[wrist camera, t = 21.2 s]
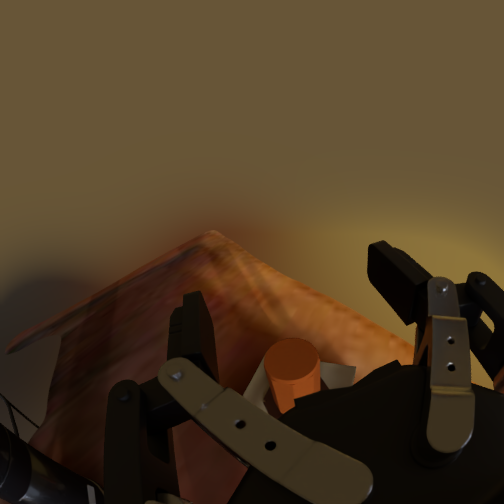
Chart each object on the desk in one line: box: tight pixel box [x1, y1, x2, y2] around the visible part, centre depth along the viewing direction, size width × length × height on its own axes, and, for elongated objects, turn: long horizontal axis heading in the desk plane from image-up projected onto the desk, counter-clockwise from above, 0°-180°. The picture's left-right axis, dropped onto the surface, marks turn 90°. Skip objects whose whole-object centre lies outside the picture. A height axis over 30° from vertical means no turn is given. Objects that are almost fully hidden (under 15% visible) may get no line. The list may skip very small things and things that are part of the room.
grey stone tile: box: [243, 356, 356, 413], centre depth 30 cm, size 13×13×2 cm
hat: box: [263, 338, 329, 419], centre depth 27 cm, size 8×8×9 cm
